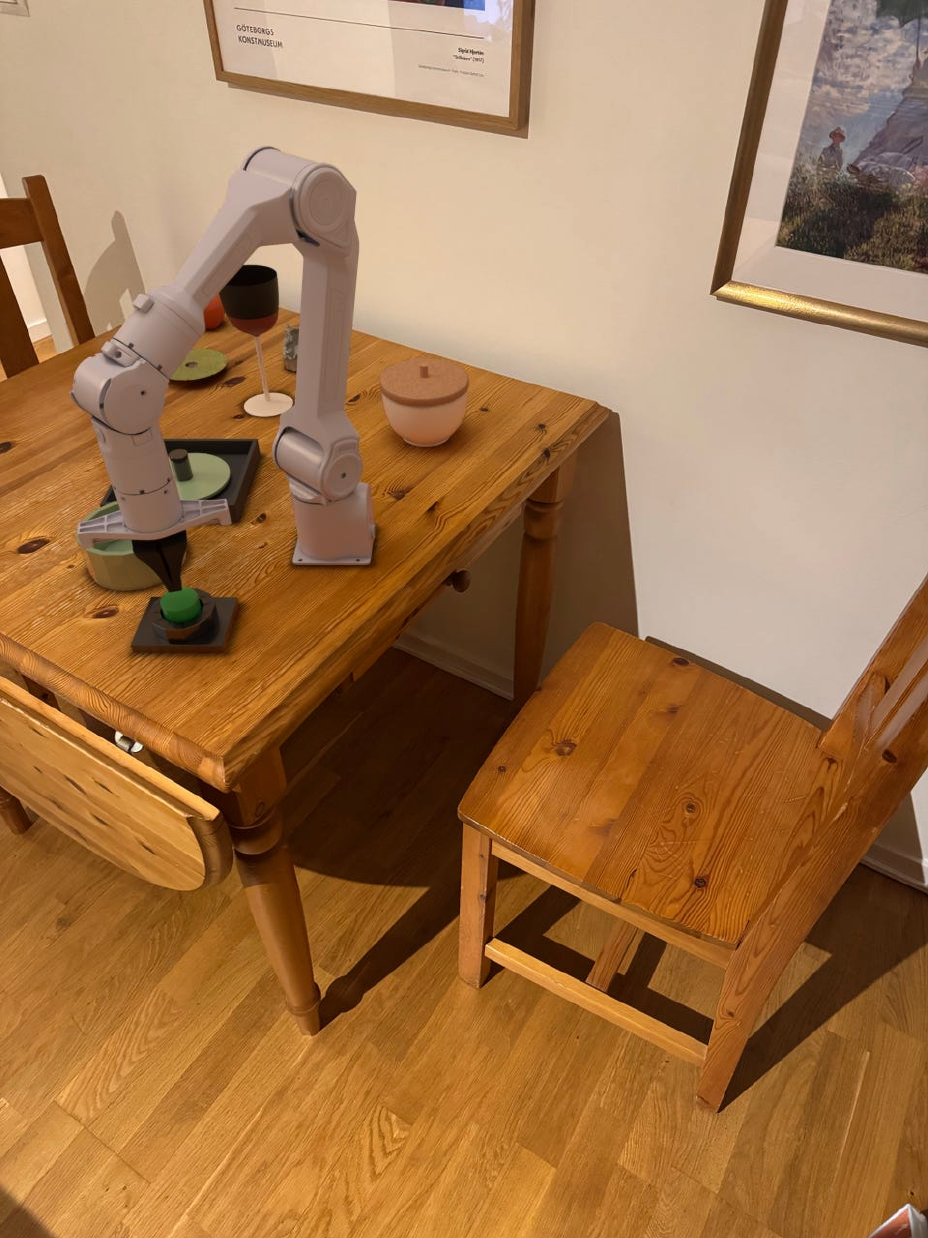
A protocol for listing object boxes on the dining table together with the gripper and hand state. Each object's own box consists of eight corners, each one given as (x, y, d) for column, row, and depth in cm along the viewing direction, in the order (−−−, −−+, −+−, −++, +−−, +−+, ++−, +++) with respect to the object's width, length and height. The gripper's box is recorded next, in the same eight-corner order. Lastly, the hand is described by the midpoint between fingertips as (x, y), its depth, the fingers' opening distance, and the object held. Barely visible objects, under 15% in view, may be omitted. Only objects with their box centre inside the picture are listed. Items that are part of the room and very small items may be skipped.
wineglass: (286, 419, 131) (264, 288, 117) (232, 414, 132) (205, 283, 118) (303, 394, 136) (285, 266, 123) (251, 389, 138) (228, 262, 124)
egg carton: (288, 345, 150) (285, 322, 147) (332, 343, 150) (329, 320, 147) (282, 373, 142) (278, 349, 139) (328, 371, 142) (325, 348, 139)
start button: (204, 598, 96) (201, 586, 95) (196, 623, 93) (192, 611, 92) (169, 598, 96) (165, 586, 95) (159, 622, 93) (155, 610, 92)
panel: (239, 604, 99) (234, 584, 97) (224, 653, 94) (219, 633, 92) (153, 604, 100) (146, 584, 98) (133, 653, 94) (125, 633, 92)
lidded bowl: (367, 443, 125) (360, 373, 118) (411, 406, 134) (407, 337, 126) (443, 465, 121) (441, 393, 113) (483, 425, 129) (484, 355, 122)
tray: (261, 455, 123) (257, 438, 121) (238, 522, 111) (234, 504, 109) (141, 455, 123) (136, 438, 121) (105, 522, 111) (99, 504, 109)
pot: (196, 533, 110) (186, 497, 106) (173, 591, 101) (162, 555, 98) (107, 532, 110) (94, 497, 106) (76, 591, 101) (62, 555, 98)
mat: (238, 360, 145) (236, 349, 144) (215, 392, 137) (212, 381, 136) (174, 356, 146) (172, 346, 145) (148, 388, 138) (144, 377, 137)
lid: (239, 459, 121) (233, 429, 118) (221, 509, 112) (213, 479, 109) (153, 459, 121) (145, 429, 118) (128, 509, 112) (118, 479, 109)
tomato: (217, 313, 159) (208, 269, 154) (237, 326, 155) (228, 281, 150) (180, 324, 156) (169, 280, 151) (199, 337, 152) (189, 292, 146)
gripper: (215, 446, 87) (239, 551, 97) (65, 468, 84) (104, 575, 94) (221, 483, 82) (246, 591, 92) (61, 508, 79) (103, 617, 89)
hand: (174, 585), depth 92 cm, fingers closed
